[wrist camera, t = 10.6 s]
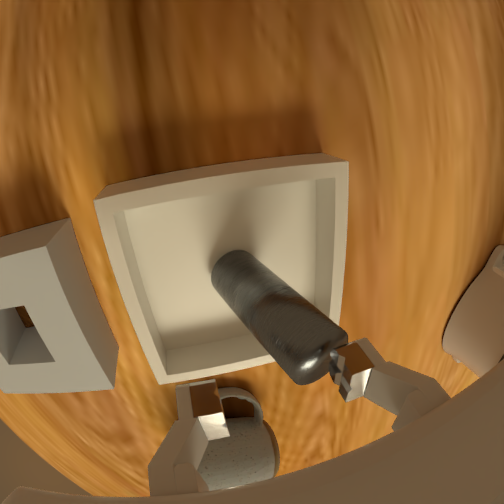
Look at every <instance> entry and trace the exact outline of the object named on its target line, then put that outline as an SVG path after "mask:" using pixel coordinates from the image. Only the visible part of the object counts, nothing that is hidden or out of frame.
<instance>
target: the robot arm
mask: <svg viewBox="0 0 504 504" xmlns="http://www.w3.org/2000/svg"><path fill="white" fill-rule="evenodd" d="M443 349H444V351H445V352H446V353H448V354H450V355H452V356H453V359H454V360H455V361H456V362H457V363H460V362H462V363H463V364H464V365H465V366H467V367H468V368H469V369H470V370H471V371H472V372H474V373H475V374H476V375H477V376H478V377H480V378H479V379H478V380H476V381H475V382H474V383H472V384H471V385H470V386H468V387H467V388H465V389H464V390H463V391H461V392H460V393H458V394H457V395H455V396H454V397H452V398H450V397H449V395H448V394H447V393H446V392H445V390H444V389H443V388H442V387H441V386H440V384H439V383H438V382H437V381H436V380H435V379H434V378H431V377H428V376H426V375H423V374H420V373H418V372H415V371H413V370H410V369H407V368H405V367H402V366H400V365H397V364H395V363H392V362H390V361H389V362H386V361H385V360H384V359H383V358H382V356H381V355H380V354H379V353H378V351H377V350H376V349H375V348H374V346H373V345H372V344H371V343H370V342H369V340H368V339H367V338H362V339H359V340H356V341H352V342H350V343H347V344H344V345H341V346H338V347H335V348H332V350H331V353H330V356H331V357H332V360H331V361H330V362H329V372H330V376H331V378H332V380H333V382H334V383H335V384H337V385H339V386H340V387H339V392H340V394H341V395H342V397H343V399H344V400H345V402H348V401H351V400H354V399H356V398H359V397H362V396H364V397H365V398H367V399H369V400H370V401H372V402H374V403H376V404H377V405H379V406H381V407H383V408H384V409H386V410H388V411H390V412H391V413H393V414H395V415H397V418H396V419H395V421H394V423H393V425H392V429H393V430H394V432H392V433H390V434H388V435H386V436H384V437H382V438H380V439H378V440H376V441H373V442H371V443H369V444H367V445H365V446H362V447H360V448H358V449H355V450H353V451H351V452H348V453H346V454H343V455H341V456H338V457H336V458H333V459H330V460H328V461H325V462H322V463H319V464H316V465H314V466H311V467H308V468H304V469H301V470H298V471H295V472H292V473H288V474H285V475H281V476H278V477H274V478H270V479H266V480H262V481H258V482H254V483H249V484H244V485H240V486H235V487H229V488H224V489H218V490H212V491H209V488H208V485H207V484H206V482H205V481H204V480H203V478H202V477H201V475H200V474H199V473H198V471H197V469H198V466H199V464H200V462H201V459H202V457H203V454H204V452H205V450H206V447H207V445H208V442H209V440H214V439H219V438H223V437H228V436H230V435H229V430H228V426H227V422H226V419H225V415H224V410H223V406H222V402H221V398H220V394H219V391H218V388H217V384H216V380H215V379H213V380H207V381H201V382H194V383H188V384H182V385H176V399H177V409H178V418H179V421H175V422H174V424H173V425H172V427H171V429H170V430H169V432H168V434H167V435H166V437H165V439H164V440H163V442H162V444H161V445H160V447H159V449H158V450H157V452H156V453H155V455H154V457H153V458H152V460H151V462H150V463H149V465H148V476H149V488H150V497H103V496H85V495H75V494H66V493H59V492H52V491H45V490H39V489H34V488H29V487H22V486H21V487H18V488H16V489H15V490H14V491H13V492H12V493H11V494H10V495H9V496H8V497H7V498H6V499H5V500H4V501H3V502H2V504H504V245H499V246H497V247H496V248H495V250H494V251H493V253H492V255H491V257H490V258H489V260H488V262H487V264H486V266H485V268H484V269H483V270H482V272H481V273H480V274H479V275H478V277H477V278H476V279H475V280H474V281H473V283H472V284H471V285H470V287H469V288H468V290H467V291H466V292H465V294H464V295H463V297H462V299H461V300H460V302H459V303H458V305H457V307H456V309H455V310H454V312H453V314H452V316H451V318H450V320H449V323H448V325H447V328H446V330H445V333H444V337H443Z"/></svg>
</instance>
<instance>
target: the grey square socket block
mask: <svg viewBox="0 0 504 504" xmlns="http://www.w3.org/2000/svg"><path fill="white" fill-rule="evenodd" d="M18 306H25V308H26V310H27V312H28V314H29V316H30V318H31V320H32V322H33V324H34V325H35V327H29V328H26V327H25V326H24V324H23V322H22V320H21V318H20V316H19V314H18V312H17V310H16V309H15V307H18ZM118 350H119V346H118V344H117V342H116V340H115V338H114V336H113V334H112V331H111V329H110V327H109V325H108V322H107V320H106V318H105V315H104V313H103V311H102V308H101V306H100V303H99V301H98V298H97V296H96V293H95V291H94V288H93V286H92V283H91V280H90V278H89V275H88V272H87V269H86V266H85V264H84V261H83V258H82V255H81V252H80V249H79V246H78V242H77V239H76V236H75V233H74V229H73V226H72V222H71V219H70V218H66V219H62V220H59V221H55V222H51V223H47V224H44V225H40V226H37V227H33V228H30V229H26V230H23V231H19V232H16V233H13V234H9V235H6V236H3V237H0V389H1V390H2V391H3V392H4V393H65V392H82V391H96V390H107V389H114V385H115V375H116V366H117V358H118Z"/></svg>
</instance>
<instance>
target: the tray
mask: <svg viewBox="0 0 504 504" xmlns="http://www.w3.org/2000/svg"><path fill="white" fill-rule="evenodd" d="M348 184H349V161H346V160H343V159H340V158H337V157H334V156H331V155H328V154H324V153H315V154H302V155H291V156H281V157H271V158H262V159H254V160H245V161H238V162H230V163H223V164H216V165H210V166H203V167H197V168H191V169H185V170H180V171H174V172H169V173H163V174H158V175H153V176H148V177H143V178H138V179H134V180H129V181H124V182H120V183H116V184H111V185H107V186H106V187H105V188H104V189H103V190H102V191H101V192H100V193H99V194H98V196H97V197H96V198H95V199H94V200H93V201H94V205H95V209H96V213H97V217H98V221H99V225H100V228H101V232H102V236H103V239H104V243H105V246H106V249H107V253H108V256H109V259H110V262H111V266H112V269H113V272H114V275H115V278H116V281H117V284H118V287H119V289H120V292H121V295H122V298H123V301H124V303H125V306H126V309H127V311H128V314H129V317H130V319H131V322H132V324H133V327H134V329H135V332H136V334H137V337H138V339H139V341H140V344H141V346H142V349H143V351H144V353H145V355H146V358H147V360H148V362H149V364H150V367H151V369H152V371H153V373H154V375H155V377H156V380H157V382H158V384H159V385H161V384H168V383H174V382H180V381H186V380H192V379H197V378H203V377H208V376H213V375H218V374H223V373H228V372H232V371H237V370H241V369H246V368H250V367H254V366H258V365H262V364H266V363H270V362H274V361H275V360H274V359H273V357H272V356H271V355H270V354H269V353H268V352H267V351H266V349H265V348H264V347H263V346H262V345H261V344H260V343H259V341H258V340H257V339H256V338H255V337H254V336H253V334H252V333H251V332H250V331H249V330H248V329H247V327H246V326H245V325H244V324H243V323H242V321H241V320H240V319H239V318H238V317H237V315H236V314H235V313H234V312H233V311H232V309H231V308H230V307H229V306H228V305H227V303H226V302H225V301H224V300H223V299H222V297H221V296H220V295H219V294H218V292H217V291H216V290H215V289H214V287H213V285H212V282H211V273H212V270H213V267H214V265H215V264H216V262H217V261H218V260H219V259H220V258H221V257H222V256H223V255H225V254H226V253H228V252H230V251H234V250H244V251H247V252H249V253H250V254H251V255H253V256H254V257H255V258H256V259H258V260H259V261H260V262H261V263H262V264H264V265H265V266H266V267H267V268H269V269H270V270H271V271H272V272H273V273H275V274H276V275H277V276H278V277H280V278H281V279H282V280H283V281H284V282H286V283H287V284H288V285H289V286H291V287H292V288H293V289H294V290H295V291H297V292H298V293H299V294H300V295H301V296H303V297H304V298H305V299H306V300H308V301H309V302H310V303H311V304H312V305H314V306H315V307H316V308H317V309H319V310H320V311H321V312H322V313H323V314H325V315H326V316H327V317H328V318H330V319H331V320H332V321H333V322H334V323H336V324H337V325H338V326H339V320H340V311H341V302H342V292H343V281H344V269H345V256H346V240H347V219H348Z"/></svg>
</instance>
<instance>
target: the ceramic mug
mask: <svg viewBox="0 0 504 504" xmlns="http://www.w3.org/2000/svg"><path fill="white" fill-rule="evenodd" d="M218 391H219V394H220V398H221V400H222V399H223V398H226V397H237V398H239V399H246V400H247V401H248V402H251V403H253V406H254V417H239V418H229V419H226V422H227V426H228V430H229V435H230V436H228V437H223V438H219V439H214V440H209V442H208V445H207V447H206V450H205V452H204V454H203V457H202V459H201V462H200V464H199V466H198V469H197V471H198V473H199V474H200V475H201V477H202V478H203V480H204V481H205V482H206V484H207V485H208V488H209V491H212V490H218V489H224V488H229V487H235V486H240V485H244V484H249V483H254V482H258V481H262V480H266V479H270V478H274V477H275V475H276V474H277V472H278V469H279V464H280V454H279V447H278V443H277V440H276V437H275V435H274V432H273V430H272V429H271V427H270V426H269V424H268V423H267V422H266V421H264V420H263V412H262V409H261V406H260V404H259V402H258V401H257V400H256V398H255V397H254V396H253V395H252V394H251V393H250V392H248V391H246V390H244V389H241V388H237V387H225V388H219V389H218Z"/></svg>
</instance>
